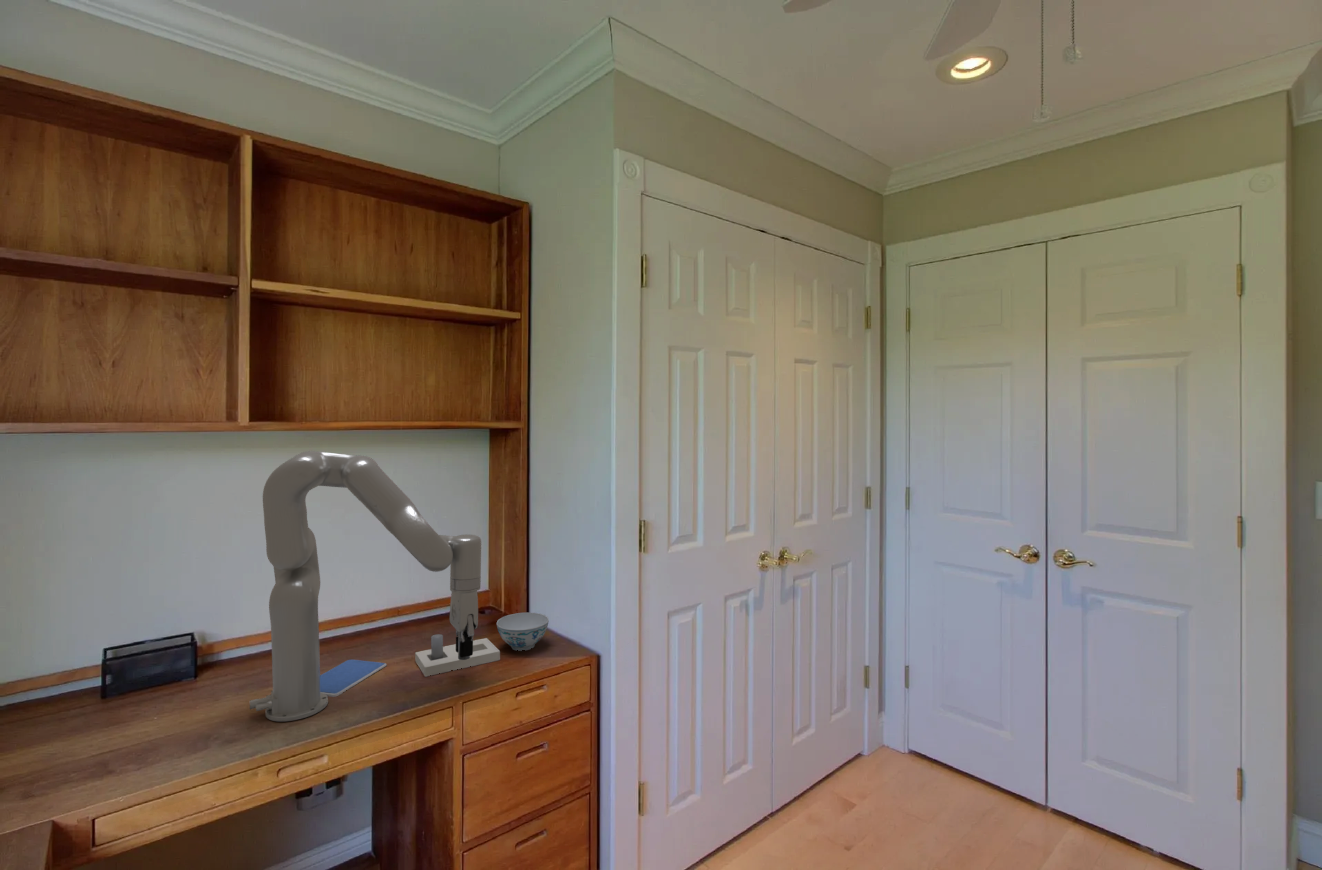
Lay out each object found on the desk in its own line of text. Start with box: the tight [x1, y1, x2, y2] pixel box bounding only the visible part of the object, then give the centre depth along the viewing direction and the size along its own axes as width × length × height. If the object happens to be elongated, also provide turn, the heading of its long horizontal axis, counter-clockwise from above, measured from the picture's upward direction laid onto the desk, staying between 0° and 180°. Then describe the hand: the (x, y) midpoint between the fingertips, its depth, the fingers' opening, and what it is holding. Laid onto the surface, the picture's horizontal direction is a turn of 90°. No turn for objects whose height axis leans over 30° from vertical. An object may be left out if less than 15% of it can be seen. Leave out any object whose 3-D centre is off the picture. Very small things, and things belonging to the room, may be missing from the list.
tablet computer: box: [320, 659, 388, 698], centre depth 162 cm, size 19×13×1 cm, turn 167°
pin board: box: [414, 633, 501, 678], centre depth 173 cm, size 20×12×8 cm, turn 123°
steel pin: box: [457, 627, 470, 660], centre depth 161 cm, size 3×3×8 cm
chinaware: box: [496, 612, 549, 652], centre depth 183 cm, size 15×15×8 cm
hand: (464, 653), depth 161 cm, fingers closed on steel pin, 3 cm apart
